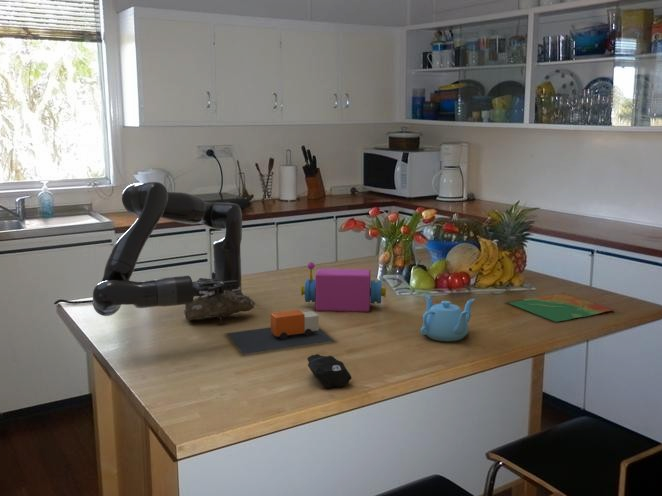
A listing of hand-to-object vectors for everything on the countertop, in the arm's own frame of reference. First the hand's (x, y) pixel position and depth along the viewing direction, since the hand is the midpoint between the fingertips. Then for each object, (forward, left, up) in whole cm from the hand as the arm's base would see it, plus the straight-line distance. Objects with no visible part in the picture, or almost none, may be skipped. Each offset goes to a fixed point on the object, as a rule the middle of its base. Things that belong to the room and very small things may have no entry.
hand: (237, 284), depth 181 cm
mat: (+9, +7, -17) cm, 21 cm away
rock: (+30, -19, -17) cm, 40 cm away
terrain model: (+88, +59, -17) cm, 108 cm away
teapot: (+55, +22, -17) cm, 62 cm away
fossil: (-14, +18, -17) cm, 29 cm away
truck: (+8, +6, -13) cm, 16 cm away
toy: (+19, +41, -17) cm, 49 cm away
